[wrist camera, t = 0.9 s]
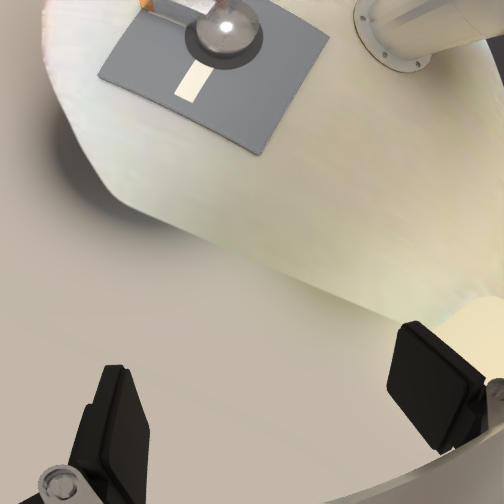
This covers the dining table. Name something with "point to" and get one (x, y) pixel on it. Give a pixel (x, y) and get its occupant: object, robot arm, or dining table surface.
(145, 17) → the panel
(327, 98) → the dining table surface
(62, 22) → the dining table surface
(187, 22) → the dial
